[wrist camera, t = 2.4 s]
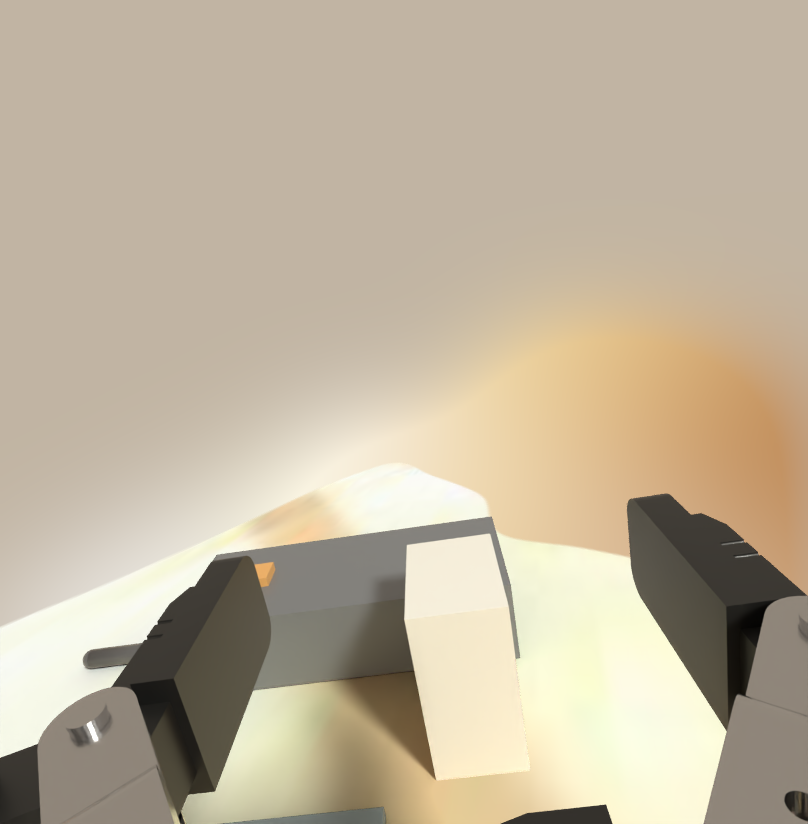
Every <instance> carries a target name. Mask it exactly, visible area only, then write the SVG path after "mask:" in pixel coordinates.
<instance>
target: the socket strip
mask: <svg viewBox="0 0 808 824" xmlns="http://www.w3.org/2000/svg"><path fill="white" fill-rule="evenodd" d="M483 534H490V535H491V539H492V543H493V547H494V551H495V555H496V559H497V563H498V567H499V570H500V574H501V578H502V582H503V586H504V590H505V594H506V598H507V602H508V606H509V612H510V620H511V627H512V635H513V643H514V650H515V658H520V653H519V646H518V638H517V630H516V622H515V615H514V607H513V599H512V591H511V584H510V581H509V577H508V573H507V570H506V566H505V563H504V559H503V555H502V552H501V548H500V545H499V541H498V537H497V534H496V530H495V527H494V523H493V519H492V517H485V518H478V519H471V520H463V521H456V522H449V523H442V524H435V525H428V526H420V527H413V528H406V529H399V530H392V531H385V532H377V533H370V534H363V535H356V536H349V537H342V538H334V539H327V540H320V541H313V542H306V543H299V544H291V545H284V546H277V547H270V548H263V549H255V550H248V551H241V552H234V553H227V554H220V555H216V557H215V558H214V560H220V559H227V558H234V557H240V556H249V557H250V558H251V559H252V560H253V562H254V565H255V568H256V572H257V575H258V578H259V582H260V585H261V589H262V592H263V595H264V599H265V602H266V606H267V609H268V612H269V616H270V621H271V641H270V646H269V649H268V652H267V654H266V657H265V660H264V662H263V665H262V668H261V670H260V673H259V676H258V678H257V681H256V683H255V686H254V689H253V690H257V689H266V688H274V687H282V686H291V685H299V684H307V683H315V682H324V681H332V680H340V679H349V678H357V677H365V676H373V675H382V674H390V673H398V672H406V671H414V666H413V661H412V656H411V651H410V646H409V641H408V636H407V631H406V626H405V621H404V614H405V584H406V554H407V545H410V544H417V543H425V542H432V541H439V540H446V539H454V538H461V537H468V536H475V535H483ZM214 560H213V561H214ZM141 644H142V643H139V644H131V645H124V646H116V647H108V648H100V649H93V650H90V651H88V652H87V653H86V654H85V655H84V657H83V664H84V666H85V667H87V668H99V667H107V666H115V665H122V664H128V663H129V661H130V660H131V659H132V657H133V656H134V654H135V653H136V651H137V650H138V649H139V647H140V646H141Z"/></svg>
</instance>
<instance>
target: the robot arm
mask: <svg viewBox="0 0 808 824" xmlns="http://www.w3.org/2000/svg"><path fill="white" fill-rule="evenodd" d="M627 515H628V530H629V543H630V557H631V569H632V574H633V578H634V582H635V585H636V588H637V590H638V593H639V595H640V597H641V599H642V600H643V602H644V603H645V605H646V606H647V608H648V609H649V611H650V613H651V614H652V616H653V617H654V619H655V620H656V622H657V623H658V625H659V627H660V628H661V630H662V631H663V633H664V634H665V636H666V637H667V639H668V641H669V642H670V644H671V645H672V647H673V648H674V650H675V651H676V653H677V655H678V656H679V658H680V659H681V661H682V662H683V664H684V665H685V667H686V669H687V670H688V672H689V673H690V675H691V676H692V678H693V679H694V681H695V682H696V684H697V686H698V687H699V689H700V690H701V692H702V693H703V695H704V696H705V698H706V700H707V701H708V703H709V704H710V706H711V707H712V709H713V710H714V712H715V714H716V715H717V717H718V718H719V720H720V721H721V723H722V724H723V726H724V728H725V729H726V731H727V733H726V737H725V741H724V745H723V749H722V753H721V757H720V761H719V765H718V769H717V773H716V777H715V781H714V785H713V789H712V793H711V797H710V801H709V805H708V809H707V813H706V817H705V821H704V824H808V596H807V595H806V594H805V593H803V592H802V591H801V590H800V589H799V588H798V587H797V586H796V585H795V584H793V583H792V582H791V581H790V580H789V579H788V578H787V577H785V576H784V575H783V574H782V573H781V572H780V571H778V569H776V568H775V567H774V566H773V565H772V564H771V563H770V562H769V561H767V560H766V559H765V558H764V557H763V556H762V555H760V556H759V555H758V552H757V551H756V550H755V549H754V548H753V547H752V546H750V545H749V544H748V543H745V542H744V539H742V538H741V537H740V536H739V535H738V534H737V533H736V532H735V531H734V530H732V529H731V528H730V527H729V526H728V525H727V524H724V523H722V522H720V521H718V520H715V519H713V518H711V517H709V516H706V515H704V514H701V513H700V514H694V515H691V514H689V513H688V512H687V511H686V510H685V509H684V508H683V507H682V506H681V505H680V504H679V503H678V502H677V501H676V500H675V499H674V498H673V497H672V496H671V495H669V494H660V495H654V496H647V497H640V498H634V499H630V500H629V501H628V505H627ZM270 641H271V621H270V616H269V612H268V609H267V606H266V602H265V599H264V595H263V592H262V589H261V585H260V582H259V578H258V575H257V572H256V568H255V565H254V562H253V560H252V559H251V558H250V557H249V556H240V557H234V558H227V559H220V560H214V561H212V562H211V563H210V564H209V566H208V567H207V569H206V570H205V572H204V573H203V575H202V576H201V578H200V579H199V581H198V582H197V584H196V586H195V587H190V588H188V589H187V590H186V591H185V592H184V593H182V594H181V595H180V596H179V597H178V598H176V599H175V600H174V601H173V602H172V603H170V604H169V606H168V607H167V609H166V610H165V612H164V613H163V614H162V616H161V617H160V619H159V620H158V625H155V626H154V627H153V629H152V630H151V631H150V633H149V634H148V636H147V640H144V641H143V643H142V644H141V646H140V647H139V649H138V650H137V651H136V653H135V654H134V656H133V657H132V659H131V660H130V661H129V663H128V664H127V666H126V667H125V668H124V670H123V671H122V673H121V674H120V676H119V677H118V678H117V680H116V681H115V683H114V684H113V686H112V687H111V688H107V689H103V690H100V691H97V692H94V693H92V694H90V695H88V696H86V697H84V698H82V699H80V700H78V701H77V702H75V703H74V704H72V705H71V706H69V707H68V708H66V709H65V710H64V711H63V712H61V713H60V714H59V715H58V716H57V717H56V718H55V719H54V720H53V721H52V722H51V723H50V724H49V725H48V727H47V728H46V729H45V731H44V732H43V734H42V736H41V738H40V740H39V743H38V744H37V745H34V746H31V747H28V748H26V749H23V750H20V751H18V752H15V753H12V754H10V755H7V756H4V757H1V758H0V824H186V822H185V819H184V816H183V814H182V811H181V810H182V807H183V805H184V802H185V800H186V798H187V795H189V794H197V793H206V792H214V791H215V790H216V787H217V785H218V782H219V779H220V777H221V774H222V771H223V769H224V766H225V763H226V761H227V758H228V755H229V753H230V750H231V747H232V745H233V742H234V739H235V737H236V734H237V731H238V729H239V726H240V723H241V721H242V718H243V715H244V713H245V710H246V707H247V705H248V702H249V699H250V697H251V694H252V691H253V689H254V686H255V683H256V681H257V678H258V676H259V673H260V670H261V668H262V665H263V662H264V660H265V657H266V654H267V652H268V649H269V646H270ZM501 824H612V821H611V818H610V815H609V812H608V809H607V806H606V805H599V806H590V807H580V808H571V809H562V810H553V811H544V812H534V813H527V814H524V815H522V816H519V817H516V818H514V819H511V820H509V821H506V822H504V823H501Z"/></svg>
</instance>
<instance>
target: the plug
mask: <svg viewBox="0 0 808 824" xmlns="http://www.w3.org/2000/svg"><path fill="white" fill-rule="evenodd" d="M404 621H405V626H406V631H407V636H408V641H409V646H410V651H411V656H412V661H413V666H414V671H415V676H416V681H417V686H418V691H419V696H420V701H421V706H422V711H423V716H424V721H425V727H426V732H427V737H428V742H429V747H430V752H431V757H432V762H433V767H434V772H435V777H436V780H445V779H455V778H464V777H474V776H483V775H493V774H502V773H511V772H521V771H530V763H529V756H528V748H527V741H526V733H525V726H524V718H523V710H522V703H521V695H520V688H519V680H518V673H517V665H516V658H515V650H514V643H513V635H512V627H511V620H510V612H509V606H508V602H507V598H506V594H505V590H504V586H503V582H502V578H501V574H500V570H499V567H498V563H497V559H496V555H495V551H494V547H493V543H492V539H491V535H490V534H483V535H475V536H468V537H461V538H454V539H446V540H439V541H432V542H425V543H417V544H410V545H407V554H406V584H405V614H404Z"/></svg>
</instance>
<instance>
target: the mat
mask: <svg viewBox="0 0 808 824" xmlns="http://www.w3.org/2000/svg"><path fill="white" fill-rule="evenodd" d="M223 824H386V815H385V811H384V807H378V808H368V809H358V810H349V811H339V812H329V813H320V814H310V815H300V816H291V817H281V818H271V819H262V820H252V821H242V822H233V823H223Z"/></svg>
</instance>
